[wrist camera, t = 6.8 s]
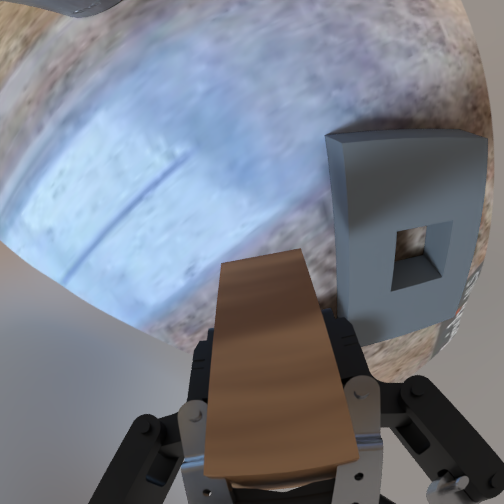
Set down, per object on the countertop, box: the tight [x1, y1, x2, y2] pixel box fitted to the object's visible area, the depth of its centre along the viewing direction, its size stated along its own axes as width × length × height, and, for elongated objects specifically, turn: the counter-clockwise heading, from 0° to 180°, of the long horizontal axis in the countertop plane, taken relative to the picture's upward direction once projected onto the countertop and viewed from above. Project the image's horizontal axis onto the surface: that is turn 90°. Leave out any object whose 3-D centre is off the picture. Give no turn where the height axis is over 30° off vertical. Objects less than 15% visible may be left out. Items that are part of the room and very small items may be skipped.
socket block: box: [325, 129, 488, 347], centre depth 21 cm, size 20×14×4 cm
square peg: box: [203, 248, 360, 490], centre depth 10 cm, size 4×4×10 cm
